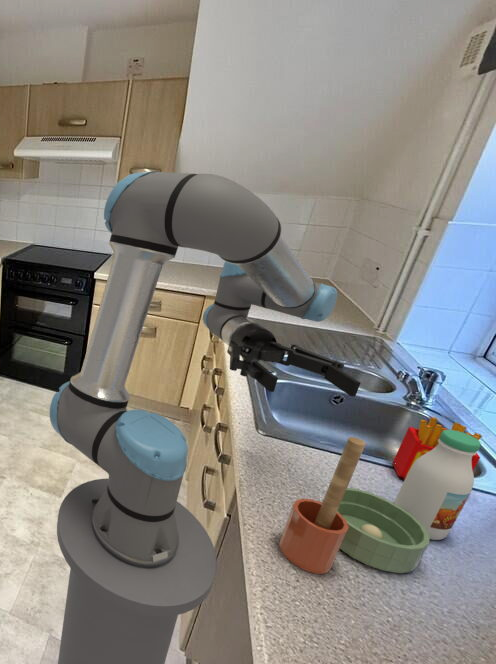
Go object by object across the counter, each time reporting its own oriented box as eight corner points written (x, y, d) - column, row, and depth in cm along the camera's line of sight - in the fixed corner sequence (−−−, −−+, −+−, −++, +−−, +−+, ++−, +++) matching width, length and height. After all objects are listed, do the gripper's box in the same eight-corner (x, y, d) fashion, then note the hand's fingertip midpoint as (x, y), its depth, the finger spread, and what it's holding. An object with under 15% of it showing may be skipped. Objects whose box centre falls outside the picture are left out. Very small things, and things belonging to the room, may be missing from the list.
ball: (356, 523, 76) (353, 535, 74) (370, 518, 74) (367, 529, 72) (374, 537, 75) (371, 549, 73) (388, 531, 73) (385, 544, 71)
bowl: (325, 552, 72) (336, 527, 70) (311, 502, 83) (321, 478, 81) (429, 589, 66) (444, 562, 64) (399, 529, 77) (412, 504, 75)
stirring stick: (302, 559, 70) (350, 442, 62) (300, 550, 72) (346, 435, 63) (317, 564, 69) (367, 446, 61) (314, 554, 71) (363, 439, 62)
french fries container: (459, 499, 84) (490, 442, 80) (399, 481, 89) (425, 426, 84) (447, 479, 90) (475, 425, 85) (391, 463, 95) (415, 410, 90)
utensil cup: (281, 561, 70) (297, 521, 67) (277, 531, 76) (291, 492, 73) (334, 581, 67) (353, 540, 64) (325, 548, 73) (342, 508, 70)
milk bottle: (404, 535, 76) (449, 445, 69) (380, 504, 83) (419, 420, 76) (457, 546, 74) (509, 455, 67) (428, 514, 81) (473, 428, 74)
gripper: (301, 357, 91) (382, 410, 71) (187, 351, 93) (234, 401, 73) (312, 326, 89) (398, 371, 69) (194, 320, 90) (245, 363, 70)
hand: (314, 387), depth 71 cm, fingers open, 13 cm apart
